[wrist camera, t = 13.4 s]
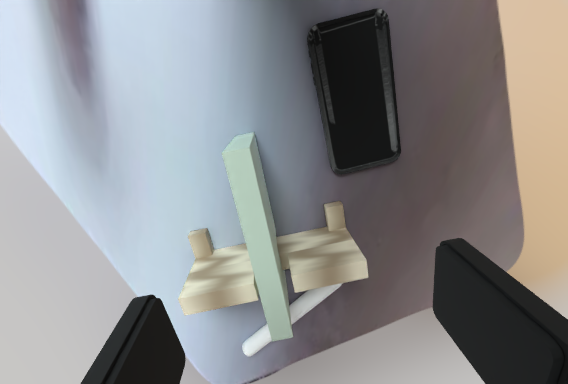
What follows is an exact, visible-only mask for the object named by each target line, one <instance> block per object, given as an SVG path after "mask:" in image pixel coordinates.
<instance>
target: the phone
mask: <svg viewBox="0 0 568 384" xmlns="http://www.w3.org/2000/svg"><path fill="white" fill-rule="evenodd" d="M307 40H308V47H309V55H310V58H311V67H312V72H313V74H314V77H313V79H314V84H315V85H316V90H317V95H318V101H319V106H320V112H321V117H322V122H323V128H324V133H325V139H326V144H327V149H328V155H329V160H330V165H331V168H332V169H333V171H334V172H336V173H337V174H346V173H351V172H355V171H359V170H363V169H367V168H371V167H375V166H379V165H383V164H387V163H391V162H394V161H395V160H397V159H398V157H399V156H400V153H401V146H400V136H399V125H398V114H397V104H396V93H395V82H394V72H393V61H392V50H391V40H390V29H389V19H388V15H387V14H386V12H385V11H384V10H382V9H373V10H369V11H365V12H361V13H357V14H353V15H349V16H345V17H341V18H338V19H334V20H330V21H326V22H322V23H318V24H316V25H314V26H313V27H312V28H311V30H310V32H309V33H308V37H307Z"/></svg>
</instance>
